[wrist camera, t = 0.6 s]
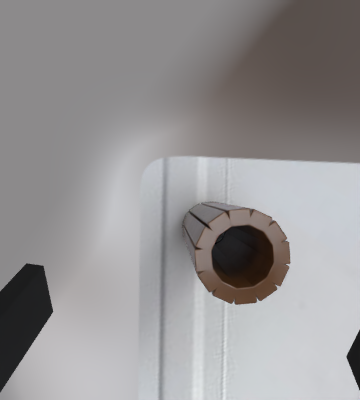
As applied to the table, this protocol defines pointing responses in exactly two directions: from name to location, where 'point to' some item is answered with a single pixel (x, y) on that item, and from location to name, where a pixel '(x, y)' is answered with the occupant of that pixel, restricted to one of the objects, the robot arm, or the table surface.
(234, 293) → the brown wooden hollow cylinder
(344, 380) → the table surface
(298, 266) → the table surface
